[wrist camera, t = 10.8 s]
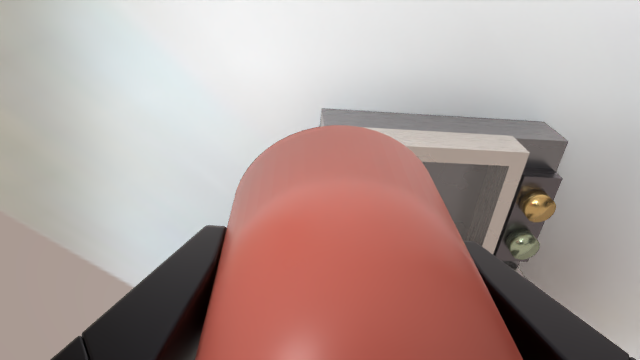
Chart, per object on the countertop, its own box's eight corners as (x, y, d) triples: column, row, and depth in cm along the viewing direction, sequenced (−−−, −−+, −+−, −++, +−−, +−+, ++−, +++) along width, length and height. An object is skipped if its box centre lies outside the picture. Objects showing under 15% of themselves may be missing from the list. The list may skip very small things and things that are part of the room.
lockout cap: (460, 134, 9) (686, 435, 4) (413, 298, 11) (511, 626, 6) (232, 116, 9) (125, 422, 3) (232, 289, 11) (167, 631, 6)
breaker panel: (547, 120, 20) (593, 156, 17) (471, 325, 26) (494, 378, 23) (321, 106, 19) (327, 141, 16) (302, 322, 25) (303, 376, 22)
